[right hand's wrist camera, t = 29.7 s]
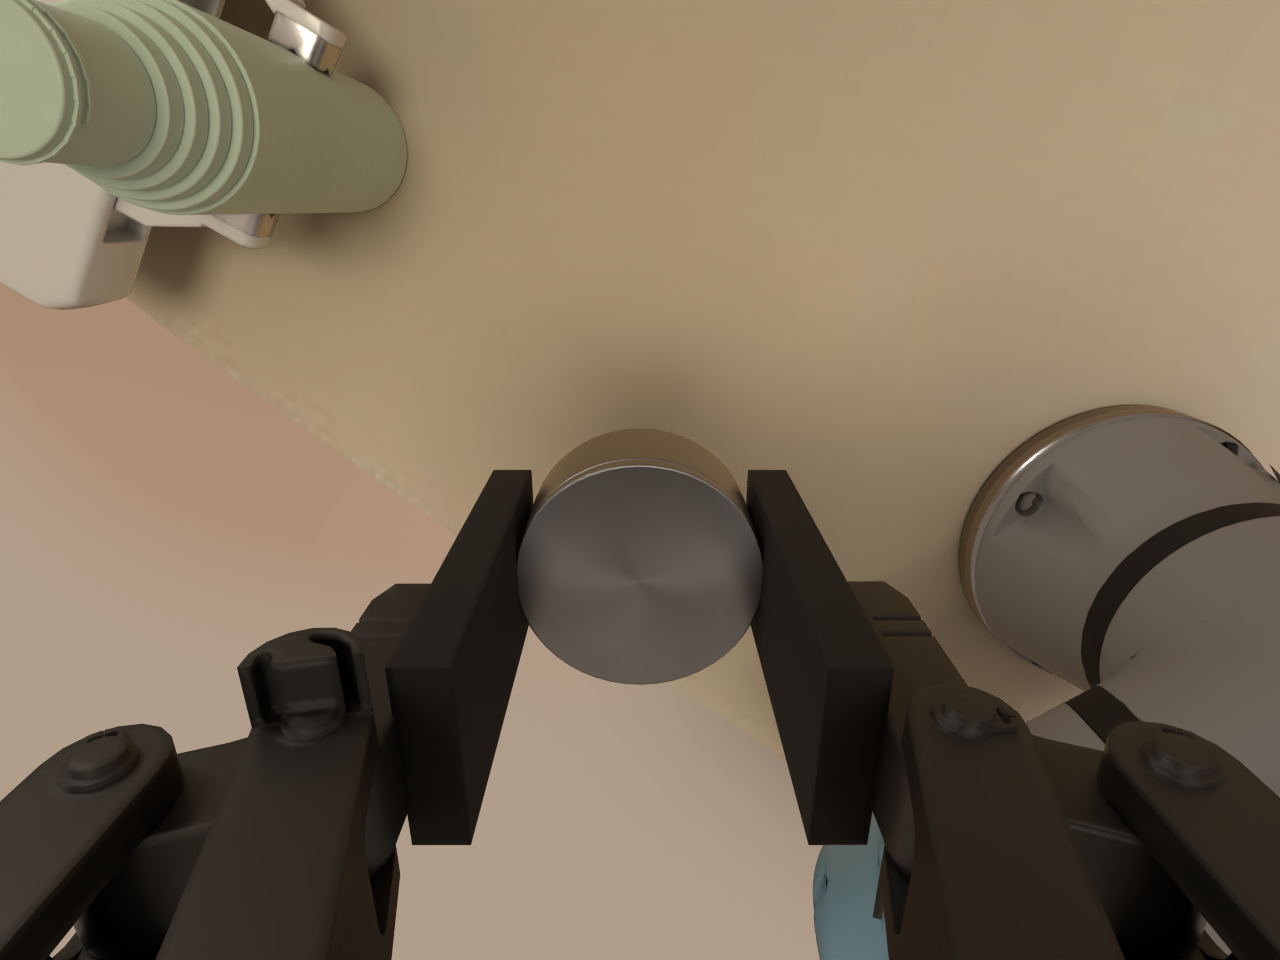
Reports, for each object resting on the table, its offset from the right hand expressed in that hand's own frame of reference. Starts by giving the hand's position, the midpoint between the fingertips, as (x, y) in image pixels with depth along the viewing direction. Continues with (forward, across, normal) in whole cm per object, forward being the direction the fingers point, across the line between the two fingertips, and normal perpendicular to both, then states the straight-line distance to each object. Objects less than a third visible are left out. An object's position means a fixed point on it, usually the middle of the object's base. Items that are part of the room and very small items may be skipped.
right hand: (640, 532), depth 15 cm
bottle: (+22, +13, -9) cm, 27 cm away
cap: (-2, 0, 0) cm, 2 cm away
